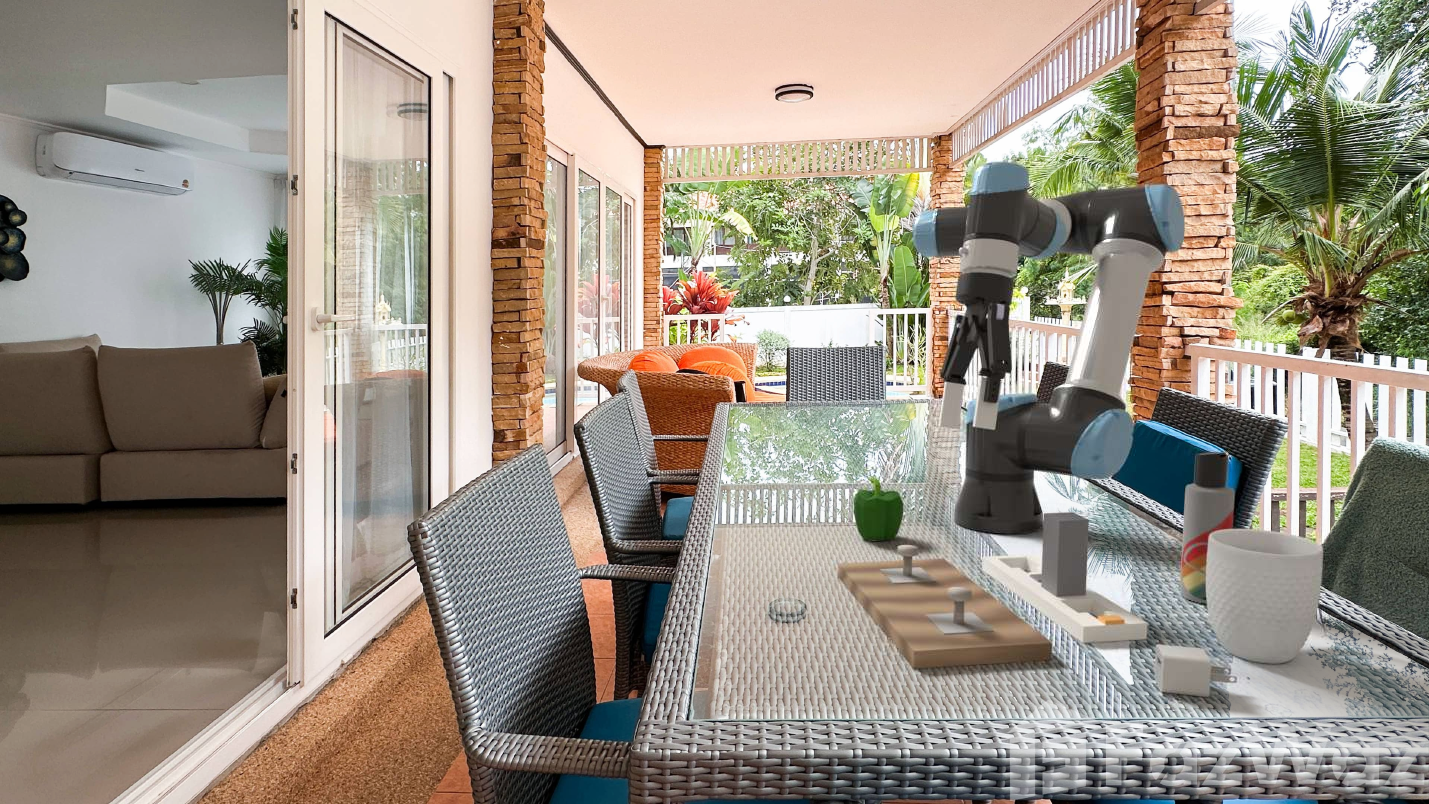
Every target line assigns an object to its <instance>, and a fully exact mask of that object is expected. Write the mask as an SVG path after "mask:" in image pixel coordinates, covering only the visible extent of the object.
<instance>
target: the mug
mask: <svg viewBox="0 0 1429 804" xmlns="http://www.w3.org/2000/svg"><path fill="white" fill-rule="evenodd" d="M1323 558H1324V548H1323V547H1322V545H1321V544H1319V543H1318V542H1316V541H1314V540H1312V539H1309V538H1307V537H1306V538H1305V537H1303V536H1299V535H1296V534H1290V533H1285V532H1279V531H1273V530H1264V529H1256V528H1255V529H1253V528H1252V529H1251V528H1233V529H1225V530H1218V531H1215V532H1212V533H1211V534H1210V535H1209V538H1208V551H1207V560H1206V561H1207V564H1206V598H1207V604H1206V605H1207V607H1206V608H1207V611H1208V616H1209V620H1210V622H1211V623H1210V624H1211V627H1212V629H1213V632H1214V634H1215V636H1216V638H1217V639H1218V641H1219V643H1220V644H1221V646H1222V647H1223V649H1224V650H1225V651H1226V652H1227V653H1229V654H1230V655H1232V656H1235V657H1237V658H1240V659H1243V660H1245V661H1249V662H1254V663H1259V664H1267V665H1268V664H1271V665H1274V664H1275V665H1278V664H1284V663H1288V662H1290V661H1291V660H1293V659H1294V658H1295V657H1297V654H1299V652H1300V651H1301V650H1302V649H1303V647H1304V646H1305V644H1306V642H1307V641H1308V639H1309V636H1310V634H1311V632H1312V629H1313V626H1314V624H1315V620H1316V618H1317V614H1318V608H1319V602H1320V595H1321V589H1322V581H1323V580H1322V577H1323V570H1324V568H1323V560H1324V559H1323Z"/></svg>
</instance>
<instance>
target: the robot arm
mask: <svg viewBox="0 0 1429 804" xmlns="http://www.w3.org/2000/svg"><path fill="white" fill-rule="evenodd" d="M1029 188H1030V174H1029V170H1028V169H1027V168H1026V167H1025V166H1024V165H1022V164H1018V163H1016V162H1010V161H993V162H992V161H991V162H986V163H983V164H981V165H979V166H978V167H977V168H976V169H975V171H974V173H973V177H972V182H971V186H970V190H969V191H968V195H969V200H968V206H960V207H951V208H950V207H947V208H936V209H931V210H925V211H921V212H920V214H919V215H918V216H917V217H916V219H915V221H914V224H913V229H912V237H913V238H912V240H913V244H914V247H915V249H916V251H917V252H918V253H919V254H920V255H921V256H923V257H926V258H949V257H950V258H951V257H961V259H960V266H959V271H960V272H961V274H960V275H959V276H958V277H957V284H956V290H955V300H956V302H957V303H959V304H961V305H964V306H965V307H966V309H965V312H964V313H965V314H964V315H962V314H956V316H955V318H954V319H955V320H954V324H953V325H954V326H953V331H952V333H951V337H950V341H949V344H948V347H947V350H946V352H945V353H946V354H945V358H944V360H943V364H942V367H941V370H940V374H939V378H940V379H943V382H944V385H943V386H944V387H943V390H942V391H943V393H942V399H941V407H940V412H939V413H940V414H939V419H938V420H939V421H938V427H942V428H948V429H955V430H958V429H959V426H960V421H961V413H962V411H961V410H962V405H963V397H964V392H965V386H966V385H967V380H966V378H965V377H966V374H967V371H968V369H969V367H970V364H971V362H972V360H973V357H974V355H975V353H976V351H977V349H978V353H979V357H980V363H981V368H980V369H979V372H978V374H977V375H978V376H979V378H978V379H979V380H978V386H977V387H978V388H977V392H976V393H977V394H976V398H973V399H971V401H970V402H969V403H968V405H967V411H966V420H965V426H966V427H965V470H964V471H965V478H964V482H963V485H962V487H961V490H960V492H959V495H958V498H957V500H956V504H955V507H954V510H953V511H954V512H953V513H954V515H953V521H954V522H955V523H956V524H957V525H958V526H961V527H962V528H967V529H971V530H975V531H978V532H979V531H980V532H986V533H992V534H993V533H994V534H1024V533H1025V534H1026V533H1032V532H1036V531H1038V530H1041V529H1042V528H1043V525H1044V512H1043V509H1042V505H1041V503H1040V499H1039V496H1038V491H1037V489H1036V486H1035V480H1034V479H1035V472H1042V473H1047V474H1056V475H1063V476H1069V477H1076V478H1077V479H1082V480H1083V479H1094V480H1106V479H1108V478H1111V477H1113V476H1114V475H1115V474H1117V473H1118V472H1119V471H1120V470H1121V469H1122V467H1123V466H1124V464H1125V462H1126V461H1127V458H1128V456H1129V454H1130V450H1131V449H1132V445H1133V442H1134V441H1133V440H1134V436H1133V433H1134V429H1135V428H1134V422H1133V421H1134V420H1133V417H1132V416H1131V414H1130V413H1129V412H1127V411H1126V409H1127V404H1126V402H1125V401H1124V399H1122V397H1121V396H1120V392H1121V389H1122V384H1123V381H1124V376H1125V374H1126V369H1127V365H1128V361H1129V358H1130V355H1131V350H1132V348H1133V344H1134V343H1133V342H1134V338H1135V335H1136V331H1137V327H1138V325H1139V324H1138V322H1139V319H1140V316H1141V313H1142V309H1143V305H1144V300H1145V296H1146V293H1147V289H1148V285H1149V282H1150V278H1151V274H1152V273H1154V272H1155V271H1158V270H1159V269H1161V268H1162V266H1163V265H1164V262H1165V258H1166V255H1167V253H1170V254H1171V253H1174V252H1178V251H1179V250H1180V249H1181V248H1182V246H1183V244H1184V241H1185V240H1184V239H1185V231H1186V229H1185V225H1186V224H1185V215H1184V208H1183V203H1182V200H1181V198H1180V195H1179V193H1178V192H1177V190H1176V189H1175V188H1174V187H1173V186H1172V185H1169V184H1163V183H1162V184H1149V183H1146V184H1145V185H1140V186H1139V185H1137V186H1130V187H1118V188H1117V187H1115V188H1105V189H1104V188H1103V189H1097V190H1096V189H1090V190H1084V191H1083V190H1082V191H1079V192H1074V193H1069V194H1066V195H1062V196H1061V195H1060V196H1058V197H1056V196H1055V197H1052V198H1043V199H1037V198H1035V197H1033V196H1032V195H1031V194H1030V193H1029V192H1028V190H1029ZM1056 253H1059V254H1072V255H1085V256H1087V255H1090V256H1091V255H1092V258H1093V260H1094V262H1096V263H1097V267H1096V271H1095V274H1094V277H1093V280H1092V281H1093V282H1092V285H1091V289H1090V292H1089V296H1088V300H1087V303H1086V306H1085V311H1084V314H1083V318H1082V321H1081V325H1080V328H1079V332H1078V335H1077V339H1076V343H1075V347H1074V349H1073V353H1072V357H1071V361H1070V364H1069V368H1068V372H1067V376H1066V378H1065V382H1064V383H1062V384H1061V385H1058V386H1056V387H1055V388H1054V389H1053V390H1052V393H1051V398H1050V400H1049V402H1048V403H1045V402H1039V398H1038V396H1037V394H1035V393H1029V392H1027V393H1025V392H1023V393H1009V394H1007V393H1006V394H1001V389H1002V383H1003V380H1004V379H1005V376H1006V374H1010V373H1011V372H1012V371H1013V369H1012V367H1013V365H1012V352H1011V334H1010V312H1011V305H1012V301H1013V296H1014V287H1015V281H1014V279H1012V278H1014V277H1016V276H1017V272H1018V270H1017V269H1018V262H1019V255H1021V256H1023V257H1026V258H1027V259H1032V260H1044V259H1047V258H1050V257H1051V256H1053V255H1055V254H1056Z"/></svg>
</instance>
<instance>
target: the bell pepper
mask: <svg viewBox="0 0 1429 804" xmlns="http://www.w3.org/2000/svg"><path fill="white" fill-rule="evenodd" d="M869 481H870V482H871V484H874V485H873V486H874V489H871V490H868V489H865V488H864V489H863V488H862V489H859V490H858V492H857V493H856V494H855V497H854V498H853V516H854V521H855V525H856V527H857V531H858V533H859V535H860V537H861V538H862V539H864V540H866V541H873V542H878V541H884V540H885V541H886V540H894V539H895V538H896V536H897V535H898V534H899V531H900V528H901V524H902V521H903V518H904V502H903V500H902V497H901V495H900V493H899V491H898V490H888V491H884V490H883V489H882V486H881V482H880V480H879V479H878V478H877V477H871V478H870V479H869Z"/></svg>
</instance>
